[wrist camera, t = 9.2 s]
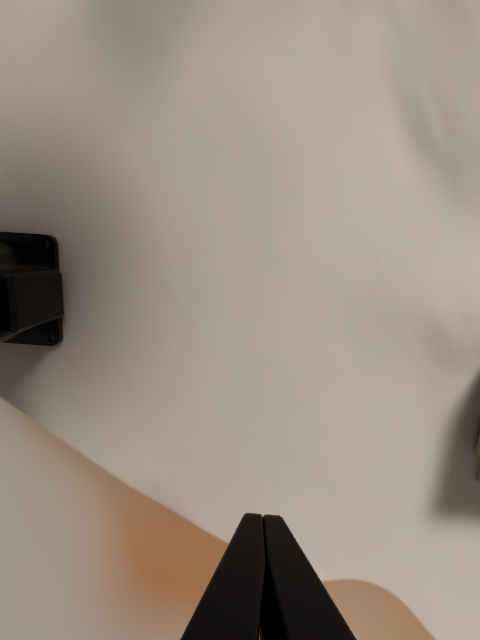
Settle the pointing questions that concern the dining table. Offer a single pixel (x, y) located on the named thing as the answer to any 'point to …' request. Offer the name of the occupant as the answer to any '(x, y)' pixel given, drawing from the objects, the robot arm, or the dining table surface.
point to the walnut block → (478, 449)
